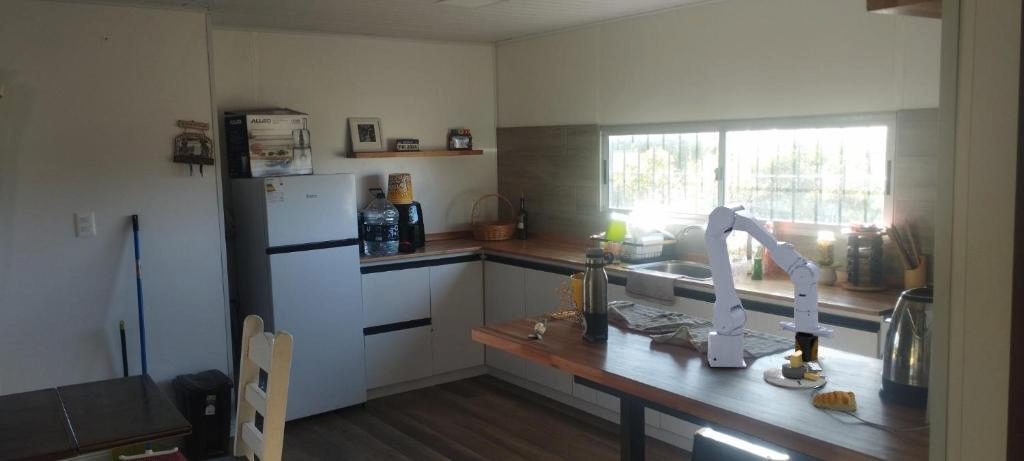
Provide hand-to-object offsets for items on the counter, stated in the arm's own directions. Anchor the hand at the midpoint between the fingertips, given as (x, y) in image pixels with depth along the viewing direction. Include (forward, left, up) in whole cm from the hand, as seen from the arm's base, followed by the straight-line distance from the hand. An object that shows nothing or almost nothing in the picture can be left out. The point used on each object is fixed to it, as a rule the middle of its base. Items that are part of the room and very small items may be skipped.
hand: (806, 361), depth 202 cm
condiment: (+3, +17, -5) cm, 18 cm away
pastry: (+2, -21, -5) cm, 22 cm away
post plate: (-3, -2, -4) cm, 6 cm away
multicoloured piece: (-2, -2, -3) cm, 4 cm away
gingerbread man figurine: (-67, +64, -5) cm, 93 cm away
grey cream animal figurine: (-73, +37, -5) cm, 82 cm away
